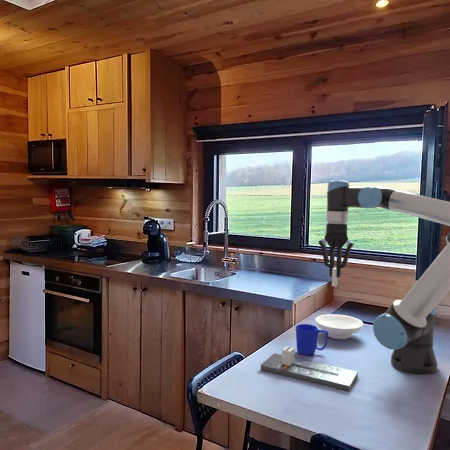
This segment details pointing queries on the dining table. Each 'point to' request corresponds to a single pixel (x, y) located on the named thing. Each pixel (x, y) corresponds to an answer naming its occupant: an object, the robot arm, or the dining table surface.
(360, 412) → the dining table surface
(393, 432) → the dining table surface
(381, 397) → the dining table surface
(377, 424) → the dining table surface
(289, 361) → the block
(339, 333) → the bowl
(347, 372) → the console
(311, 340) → the mug
